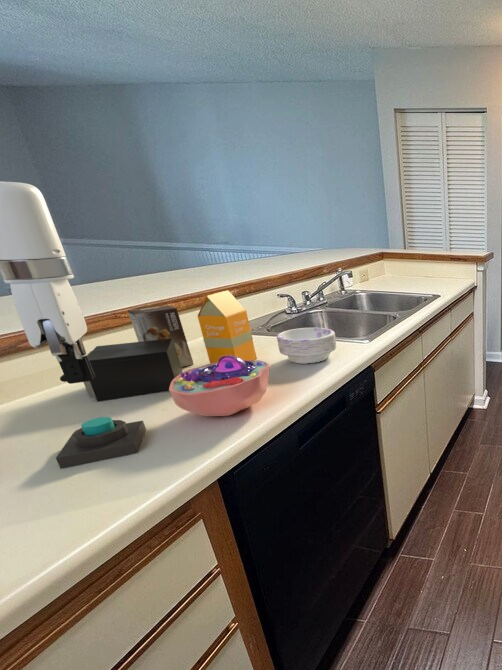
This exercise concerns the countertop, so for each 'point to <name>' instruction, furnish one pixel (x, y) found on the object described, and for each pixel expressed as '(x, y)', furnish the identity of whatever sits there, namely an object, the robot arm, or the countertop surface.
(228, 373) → the cell model
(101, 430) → the button
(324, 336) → the paper bowls
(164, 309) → the coffee box
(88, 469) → the countertop surface
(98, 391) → the cabinet
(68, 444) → the control block
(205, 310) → the orange juice
